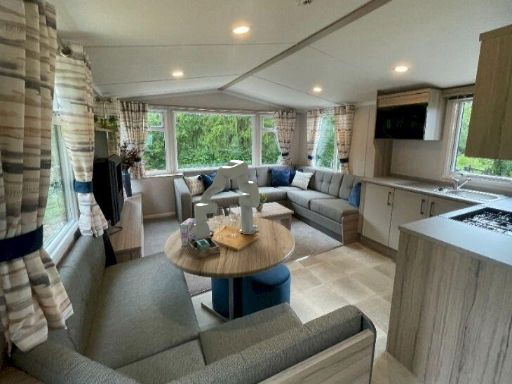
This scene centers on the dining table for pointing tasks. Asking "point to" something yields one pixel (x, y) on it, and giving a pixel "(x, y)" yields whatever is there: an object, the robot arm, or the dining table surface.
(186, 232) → the candy box
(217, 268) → the dining table surface
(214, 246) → the big crate
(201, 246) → the small crate
